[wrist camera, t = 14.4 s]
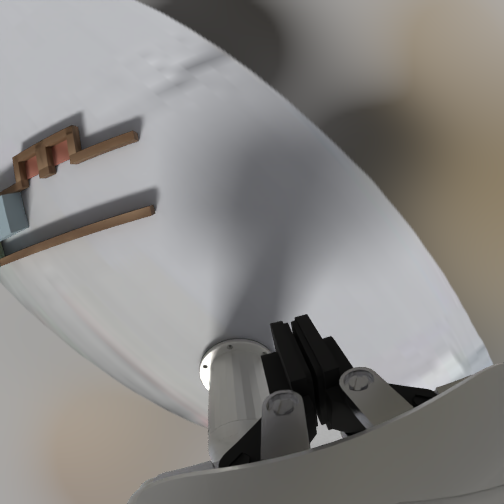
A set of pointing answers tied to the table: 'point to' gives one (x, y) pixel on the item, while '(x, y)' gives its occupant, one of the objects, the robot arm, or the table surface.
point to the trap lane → (43, 163)
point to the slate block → (11, 215)
